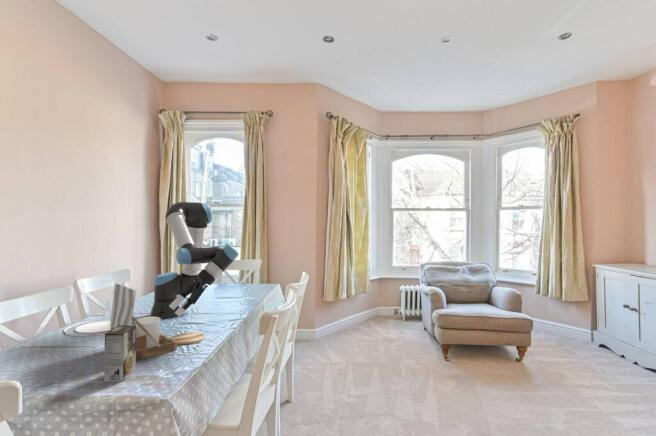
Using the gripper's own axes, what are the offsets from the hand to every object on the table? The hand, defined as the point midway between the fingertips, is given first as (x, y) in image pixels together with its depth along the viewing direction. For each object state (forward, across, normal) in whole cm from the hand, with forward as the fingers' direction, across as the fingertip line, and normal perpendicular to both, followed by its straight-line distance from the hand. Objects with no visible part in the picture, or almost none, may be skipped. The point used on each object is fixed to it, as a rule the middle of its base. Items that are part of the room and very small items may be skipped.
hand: (173, 311), depth 150 cm
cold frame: (+18, 0, -2) cm, 18 cm away
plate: (+29, +45, +8) cm, 54 cm away
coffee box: (+25, -23, +4) cm, 34 cm away
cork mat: (+6, +4, -14) cm, 16 cm away
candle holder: (+17, 0, -3) cm, 18 cm away
